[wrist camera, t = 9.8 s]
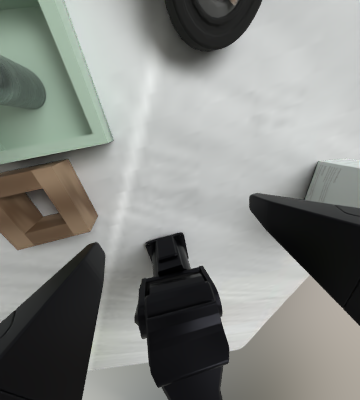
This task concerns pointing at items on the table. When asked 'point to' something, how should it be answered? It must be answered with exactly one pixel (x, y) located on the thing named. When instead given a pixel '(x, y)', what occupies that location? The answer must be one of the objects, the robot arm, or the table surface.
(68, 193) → the socket block
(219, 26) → the caster wheel
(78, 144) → the tray
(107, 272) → the table surface
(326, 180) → the skincare box
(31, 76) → the pin
